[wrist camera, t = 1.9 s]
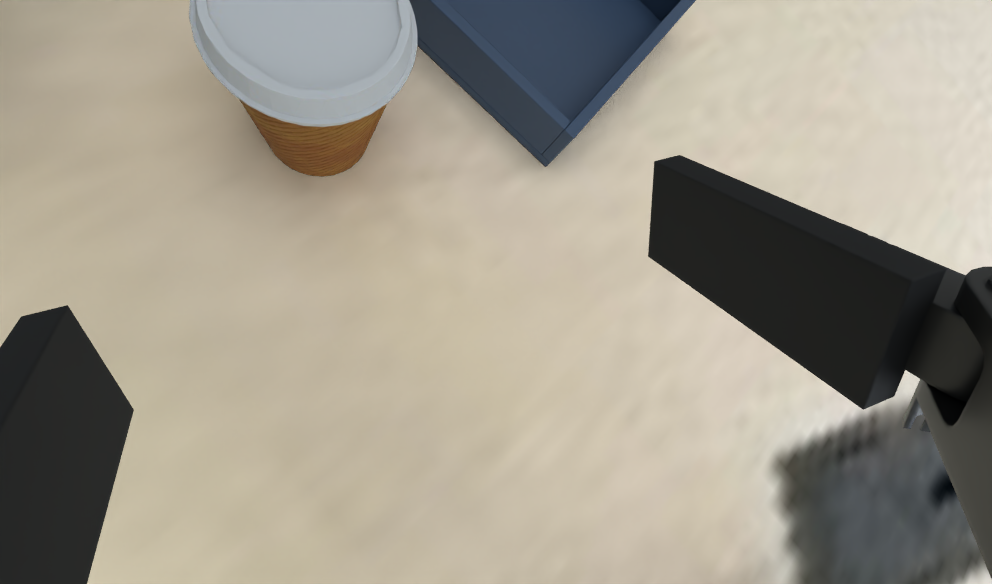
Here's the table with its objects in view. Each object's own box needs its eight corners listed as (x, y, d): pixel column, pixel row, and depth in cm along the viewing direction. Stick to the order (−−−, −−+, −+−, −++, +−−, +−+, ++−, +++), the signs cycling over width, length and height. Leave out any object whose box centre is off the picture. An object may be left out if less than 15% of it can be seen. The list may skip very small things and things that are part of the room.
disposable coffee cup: (205, 90, 32) (134, -66, 21) (349, 38, 35) (354, -122, 24) (284, 227, 33) (255, 146, 21) (421, 164, 36) (460, 64, 24)
